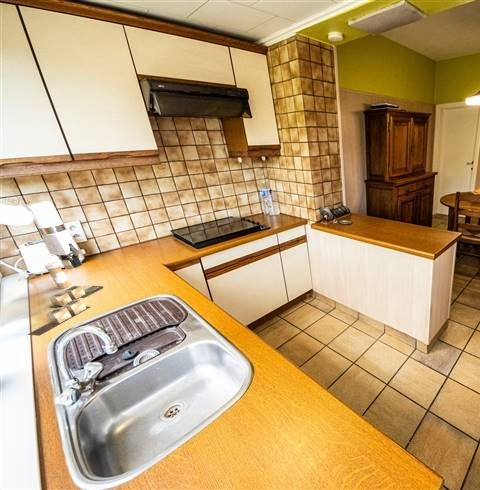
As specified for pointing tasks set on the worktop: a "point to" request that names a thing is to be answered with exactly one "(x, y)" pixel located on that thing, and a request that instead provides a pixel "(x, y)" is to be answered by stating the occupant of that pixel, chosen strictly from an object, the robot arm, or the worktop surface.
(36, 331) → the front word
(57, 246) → the robot arm
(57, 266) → the sprinkles bottle
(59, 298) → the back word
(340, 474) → the worktop surface
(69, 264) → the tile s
